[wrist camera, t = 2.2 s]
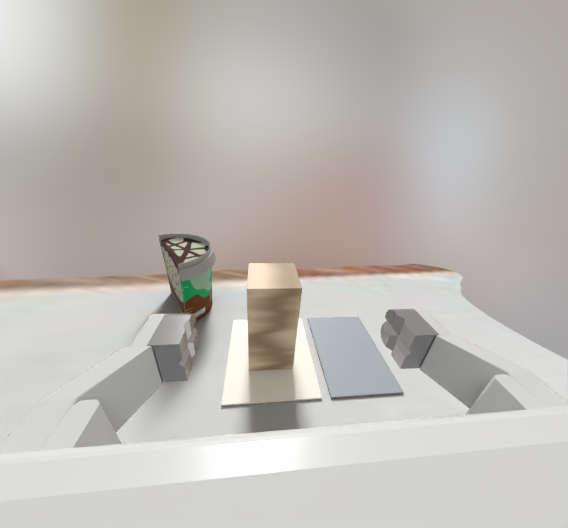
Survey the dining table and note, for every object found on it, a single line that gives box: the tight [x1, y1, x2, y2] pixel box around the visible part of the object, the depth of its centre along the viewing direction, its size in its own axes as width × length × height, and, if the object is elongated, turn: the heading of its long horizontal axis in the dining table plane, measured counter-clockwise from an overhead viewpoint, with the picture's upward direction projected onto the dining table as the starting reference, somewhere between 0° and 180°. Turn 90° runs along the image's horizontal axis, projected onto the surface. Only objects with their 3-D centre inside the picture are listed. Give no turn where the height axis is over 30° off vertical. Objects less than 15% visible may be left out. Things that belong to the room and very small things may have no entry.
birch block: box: [247, 263, 302, 371], centre depth 25 cm, size 5×5×11 cm
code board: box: [221, 317, 403, 406], centre depth 28 cm, size 19×12×1 cm, turn 96°
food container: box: [159, 234, 216, 321], centre depth 33 cm, size 12×6×10 cm, turn 37°
